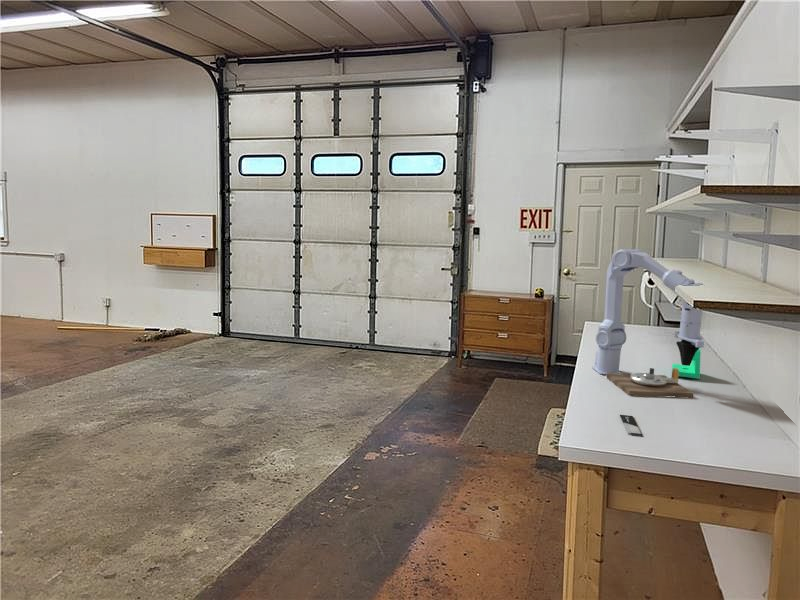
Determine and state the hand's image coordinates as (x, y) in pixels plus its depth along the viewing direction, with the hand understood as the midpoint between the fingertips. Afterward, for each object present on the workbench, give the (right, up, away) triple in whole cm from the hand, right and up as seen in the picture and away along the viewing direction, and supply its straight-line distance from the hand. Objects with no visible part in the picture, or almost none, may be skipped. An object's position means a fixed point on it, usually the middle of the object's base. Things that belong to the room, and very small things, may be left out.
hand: (685, 364), depth 187 cm
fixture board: (-9, -8, +7) cm, 14 cm away
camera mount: (+11, -7, +24) cm, 27 cm away
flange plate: (-7, -7, +7) cm, 12 cm away
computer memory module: (-29, -14, -30) cm, 43 cm away
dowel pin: (-5, -6, +13) cm, 15 cm away
